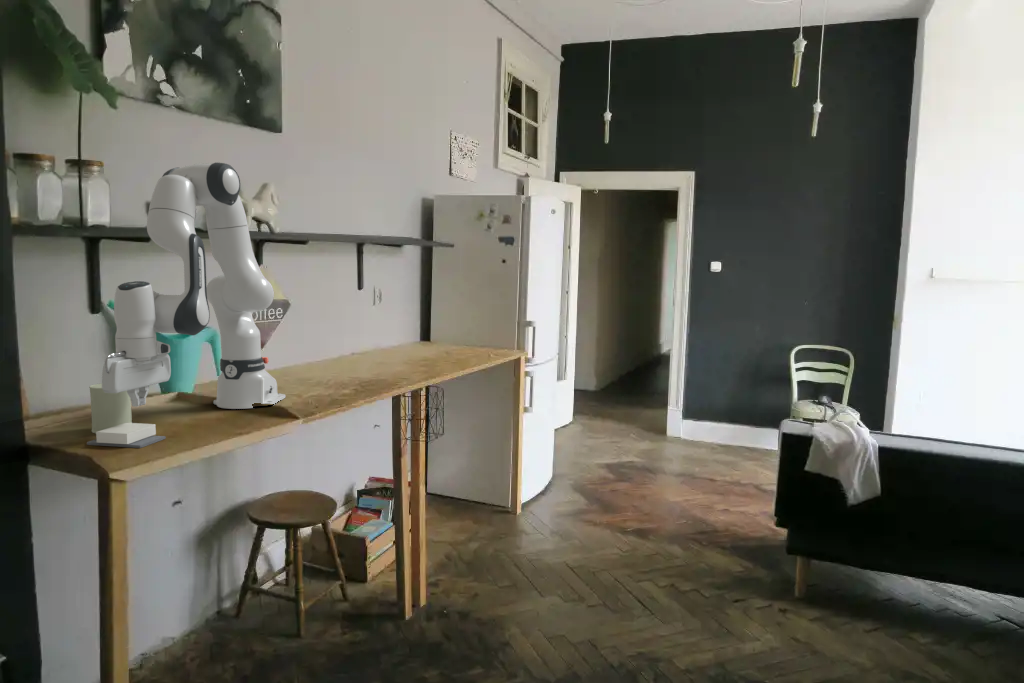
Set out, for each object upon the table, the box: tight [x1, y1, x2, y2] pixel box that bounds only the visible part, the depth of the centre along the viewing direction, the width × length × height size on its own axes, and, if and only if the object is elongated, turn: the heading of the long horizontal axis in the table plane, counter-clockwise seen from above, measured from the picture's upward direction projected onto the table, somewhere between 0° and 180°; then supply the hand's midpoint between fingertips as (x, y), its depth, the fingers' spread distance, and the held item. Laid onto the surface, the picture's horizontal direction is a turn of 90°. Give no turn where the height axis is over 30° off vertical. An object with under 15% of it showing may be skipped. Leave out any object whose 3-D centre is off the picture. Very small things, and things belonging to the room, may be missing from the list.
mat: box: [86, 435, 166, 449], centre depth 172 cm, size 9×14×1 cm, turn 80°
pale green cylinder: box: [89, 382, 133, 434], centre depth 184 cm, size 9×9×12 cm
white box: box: [95, 422, 157, 444], centre depth 172 cm, size 3×8×10 cm
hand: (138, 405), depth 176 cm, fingers closed
